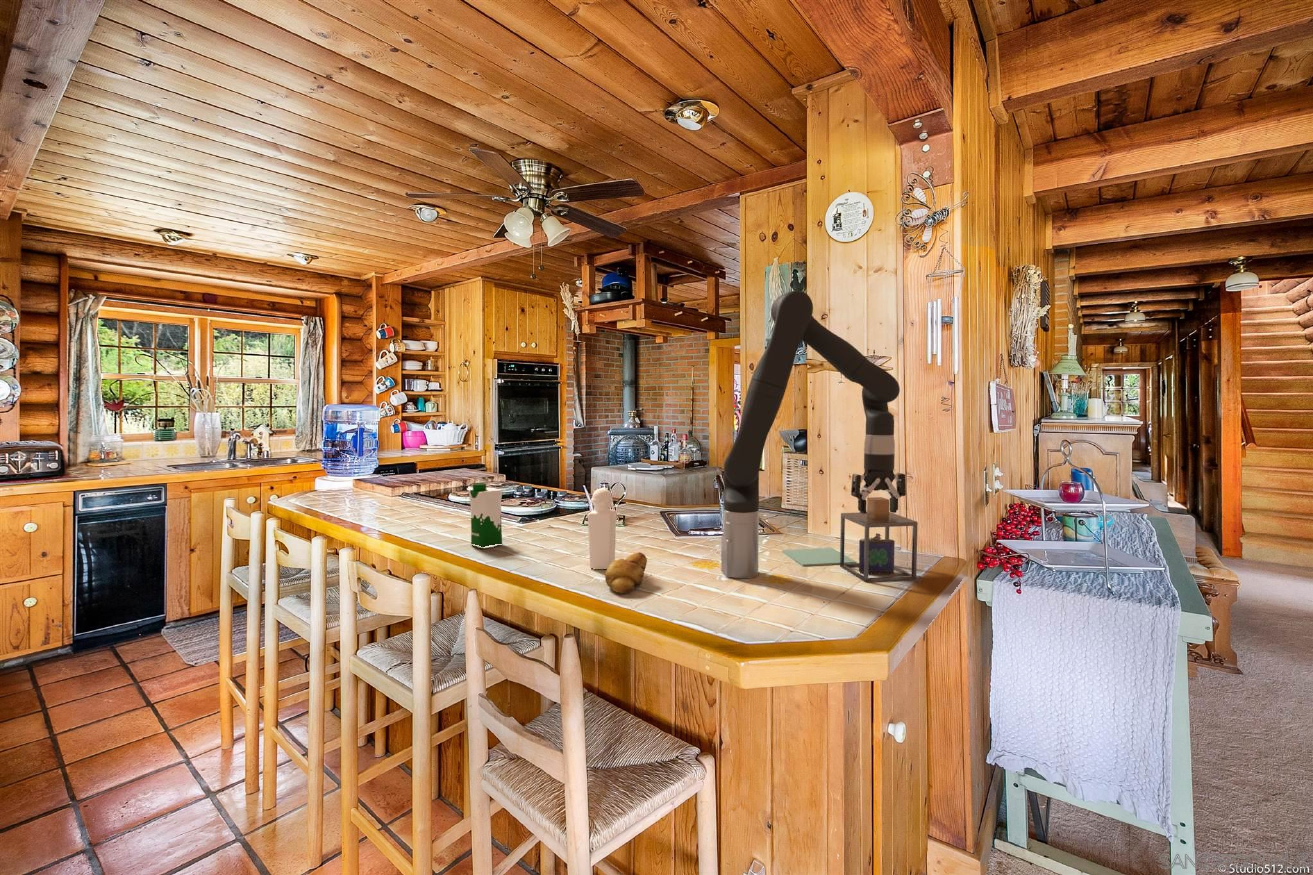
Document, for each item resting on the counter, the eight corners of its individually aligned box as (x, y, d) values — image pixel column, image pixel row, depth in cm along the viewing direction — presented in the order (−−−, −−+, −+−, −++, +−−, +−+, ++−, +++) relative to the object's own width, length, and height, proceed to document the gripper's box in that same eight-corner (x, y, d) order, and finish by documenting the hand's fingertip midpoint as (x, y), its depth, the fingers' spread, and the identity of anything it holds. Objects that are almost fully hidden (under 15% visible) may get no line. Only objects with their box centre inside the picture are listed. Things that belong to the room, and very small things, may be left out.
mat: (802, 566, 164) (802, 564, 164) (782, 551, 179) (782, 549, 179) (856, 563, 166) (856, 561, 166) (831, 549, 182) (831, 547, 182)
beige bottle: (616, 564, 166) (616, 486, 165) (611, 571, 160) (610, 490, 158) (594, 563, 167) (593, 486, 166) (587, 569, 161) (587, 489, 159)
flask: (892, 571, 159) (893, 532, 158) (896, 574, 156) (897, 534, 155) (857, 571, 159) (858, 532, 158) (860, 574, 156) (861, 534, 155)
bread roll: (634, 597, 138) (634, 564, 138) (595, 594, 141) (595, 561, 140) (649, 581, 151) (649, 550, 150) (613, 578, 153) (613, 548, 153)
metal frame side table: (865, 582, 149) (866, 504, 148) (839, 566, 163) (841, 495, 162) (916, 579, 151) (918, 502, 150) (886, 564, 165) (888, 493, 164)
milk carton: (467, 545, 187) (465, 483, 186) (492, 540, 194) (491, 480, 193) (481, 550, 181) (479, 486, 180) (506, 545, 188) (505, 483, 187)
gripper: (860, 453, 150) (859, 516, 151) (912, 452, 153) (911, 514, 154) (847, 451, 158) (846, 511, 159) (896, 450, 160) (895, 509, 161)
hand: (878, 512), depth 156 cm, fingers open, 8 cm apart
